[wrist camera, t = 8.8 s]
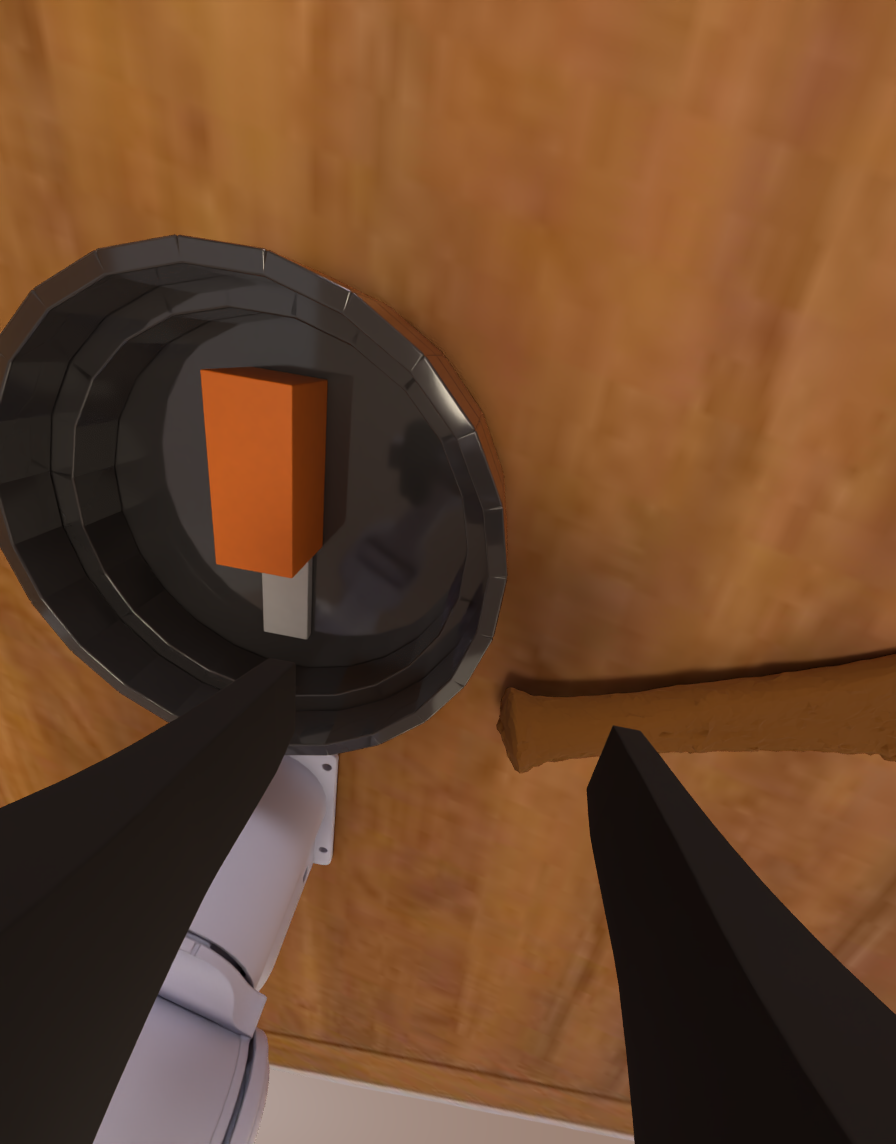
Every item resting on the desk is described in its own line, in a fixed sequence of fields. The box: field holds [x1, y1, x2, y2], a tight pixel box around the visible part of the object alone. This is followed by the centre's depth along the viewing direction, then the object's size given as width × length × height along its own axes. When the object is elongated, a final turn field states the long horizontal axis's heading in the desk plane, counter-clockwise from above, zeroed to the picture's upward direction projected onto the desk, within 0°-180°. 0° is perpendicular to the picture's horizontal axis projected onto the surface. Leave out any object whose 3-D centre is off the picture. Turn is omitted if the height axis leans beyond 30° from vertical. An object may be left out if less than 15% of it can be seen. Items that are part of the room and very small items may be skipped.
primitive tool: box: [496, 654, 896, 773], centre depth 19 cm, size 19×6×4 cm, turn 100°
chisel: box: [200, 367, 328, 639], centre depth 17 cm, size 11×3×3 cm, turn 171°
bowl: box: [0, 235, 508, 756], centre depth 17 cm, size 17×17×4 cm
